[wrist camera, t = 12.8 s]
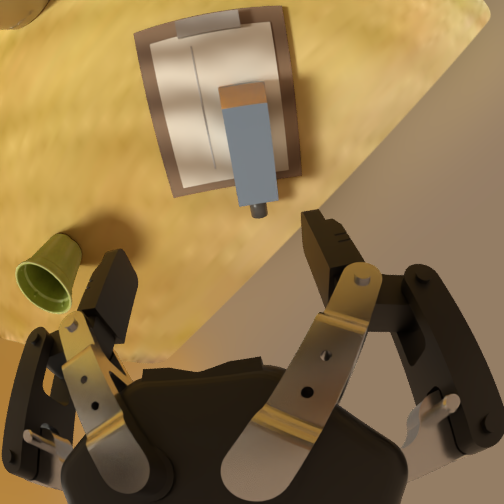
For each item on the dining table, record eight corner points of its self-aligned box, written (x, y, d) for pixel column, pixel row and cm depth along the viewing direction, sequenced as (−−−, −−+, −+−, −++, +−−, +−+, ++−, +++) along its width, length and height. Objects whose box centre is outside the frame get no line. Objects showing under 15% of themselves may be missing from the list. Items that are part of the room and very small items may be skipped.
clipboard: (135, 34, 19) (129, 32, 17) (280, 6, 18) (284, 2, 17) (174, 195, 31) (172, 202, 29) (300, 173, 31) (304, 179, 29)
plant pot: (99, 273, 37) (81, 316, 30) (54, 273, 36) (33, 311, 29) (81, 221, 31) (54, 262, 24) (34, 225, 30) (5, 262, 23)
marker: (219, 86, 23) (218, 88, 20) (258, 80, 23) (264, 81, 20) (240, 208, 32) (243, 226, 29) (274, 203, 32) (280, 220, 29)
